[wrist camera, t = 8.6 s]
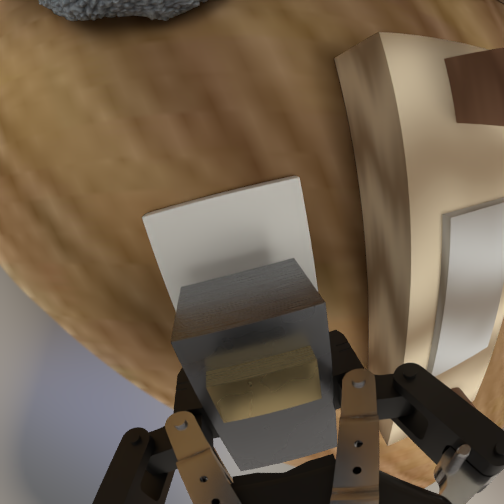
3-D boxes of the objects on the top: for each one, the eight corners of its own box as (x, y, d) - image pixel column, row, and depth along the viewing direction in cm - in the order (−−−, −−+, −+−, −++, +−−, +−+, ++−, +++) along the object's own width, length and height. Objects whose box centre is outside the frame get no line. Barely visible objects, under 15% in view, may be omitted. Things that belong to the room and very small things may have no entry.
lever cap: (180, 286, 13) (168, 357, 8) (293, 257, 13) (334, 315, 8) (234, 416, 16) (242, 483, 11) (316, 395, 16) (341, 458, 12)
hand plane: (333, 58, 13) (485, -17, 3) (451, 62, 13) (587, 51, 3) (366, 404, 23) (415, 503, 12) (446, 368, 23) (507, 444, 13)
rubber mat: (145, 213, 15) (142, 217, 14) (295, 175, 15) (299, 177, 14) (217, 398, 20) (218, 406, 19) (324, 372, 20) (328, 379, 20)
